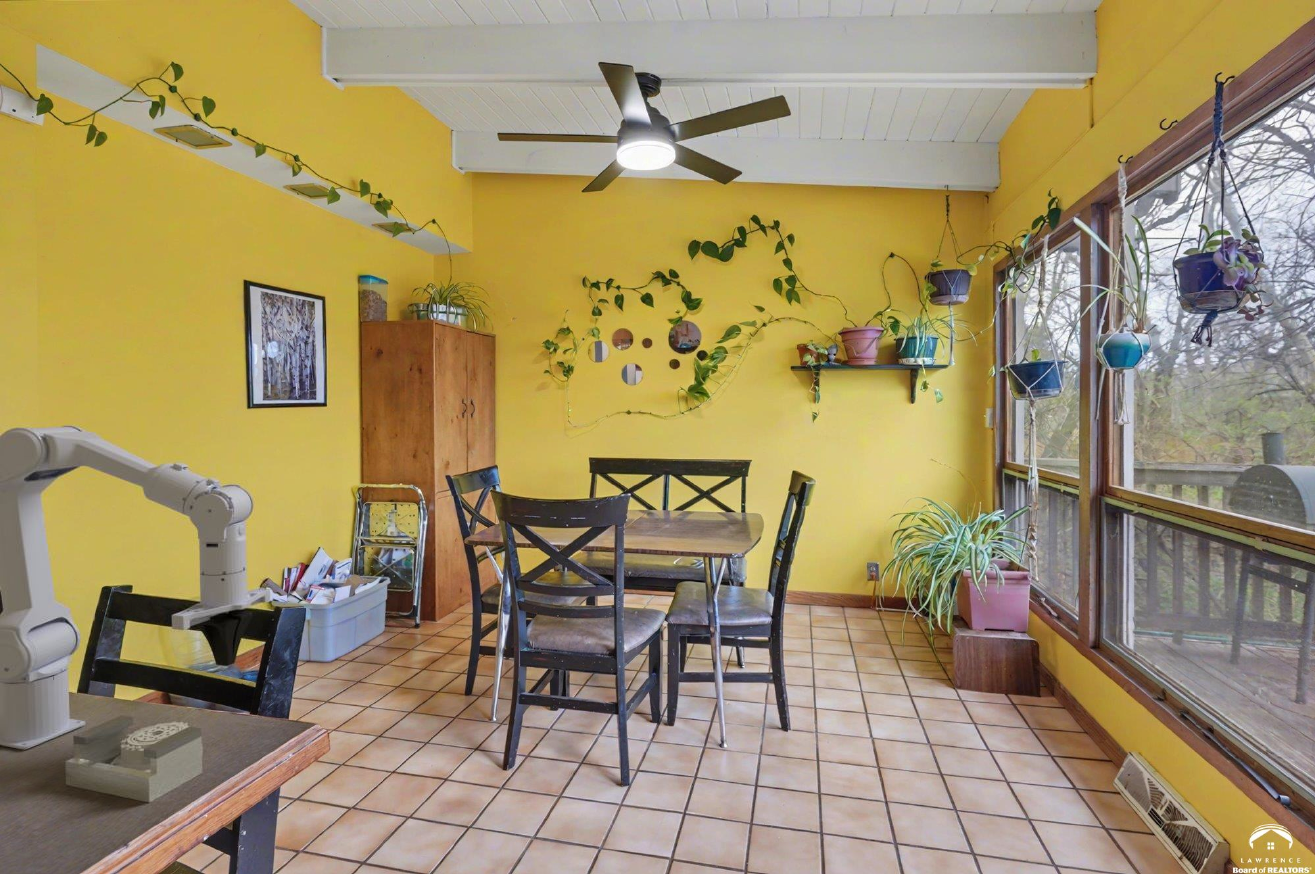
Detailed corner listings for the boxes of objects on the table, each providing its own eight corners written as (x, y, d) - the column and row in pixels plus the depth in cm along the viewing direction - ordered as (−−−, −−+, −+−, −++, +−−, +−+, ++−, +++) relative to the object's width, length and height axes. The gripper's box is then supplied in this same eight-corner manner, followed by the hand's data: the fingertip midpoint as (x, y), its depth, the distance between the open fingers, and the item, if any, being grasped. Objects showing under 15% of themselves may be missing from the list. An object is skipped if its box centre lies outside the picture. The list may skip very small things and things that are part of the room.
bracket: (66, 785, 86) (64, 739, 86) (122, 757, 93) (121, 715, 93) (149, 802, 83) (148, 755, 83) (202, 772, 90) (201, 728, 89)
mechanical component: (89, 781, 88) (153, 791, 86) (87, 746, 88) (152, 756, 86) (161, 743, 98) (220, 752, 96) (160, 712, 98) (219, 720, 95)
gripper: (199, 585, 92) (202, 686, 93) (286, 561, 106) (287, 649, 106) (158, 581, 94) (161, 680, 94) (248, 558, 108) (250, 645, 108)
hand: (225, 663), depth 101 cm, fingers closed
